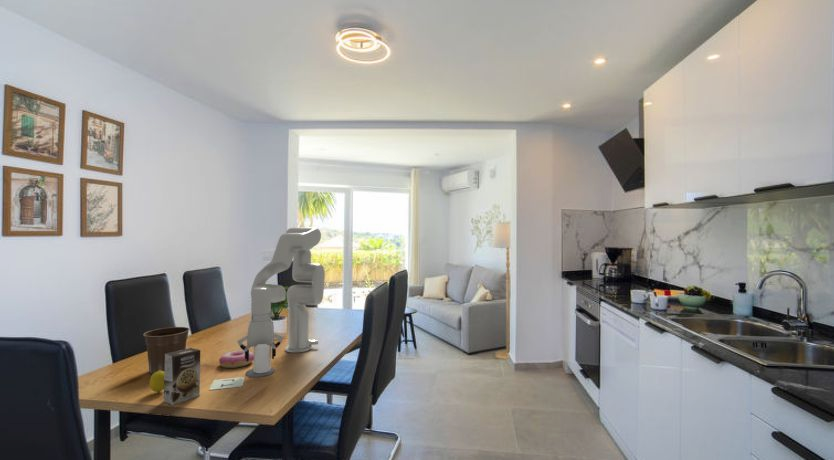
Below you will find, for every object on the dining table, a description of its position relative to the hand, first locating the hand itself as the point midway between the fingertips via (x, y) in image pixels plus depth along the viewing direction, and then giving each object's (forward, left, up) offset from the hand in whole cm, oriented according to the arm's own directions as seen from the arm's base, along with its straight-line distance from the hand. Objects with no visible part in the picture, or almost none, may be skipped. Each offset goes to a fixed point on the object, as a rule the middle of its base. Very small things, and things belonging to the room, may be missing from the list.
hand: (260, 359), depth 160 cm
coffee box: (+24, +19, -6) cm, 31 cm away
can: (-1, 0, -5) cm, 5 cm away
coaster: (0, 0, -5) cm, 5 cm away
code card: (+11, +9, -5) cm, 15 cm away
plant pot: (+37, -15, -6) cm, 40 cm away
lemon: (+33, +11, -6) cm, 35 cm away
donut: (+10, -14, -6) cm, 18 cm away
